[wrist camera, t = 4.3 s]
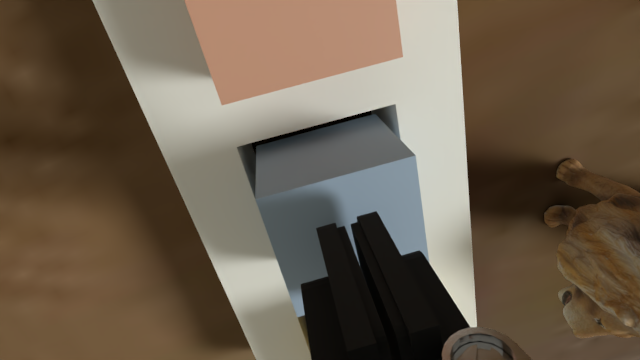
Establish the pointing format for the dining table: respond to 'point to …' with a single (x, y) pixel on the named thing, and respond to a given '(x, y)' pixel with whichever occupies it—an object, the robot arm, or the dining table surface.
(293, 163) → the blue button
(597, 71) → the dining table surface
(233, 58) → the terracotta button
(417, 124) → the button board
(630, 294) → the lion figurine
